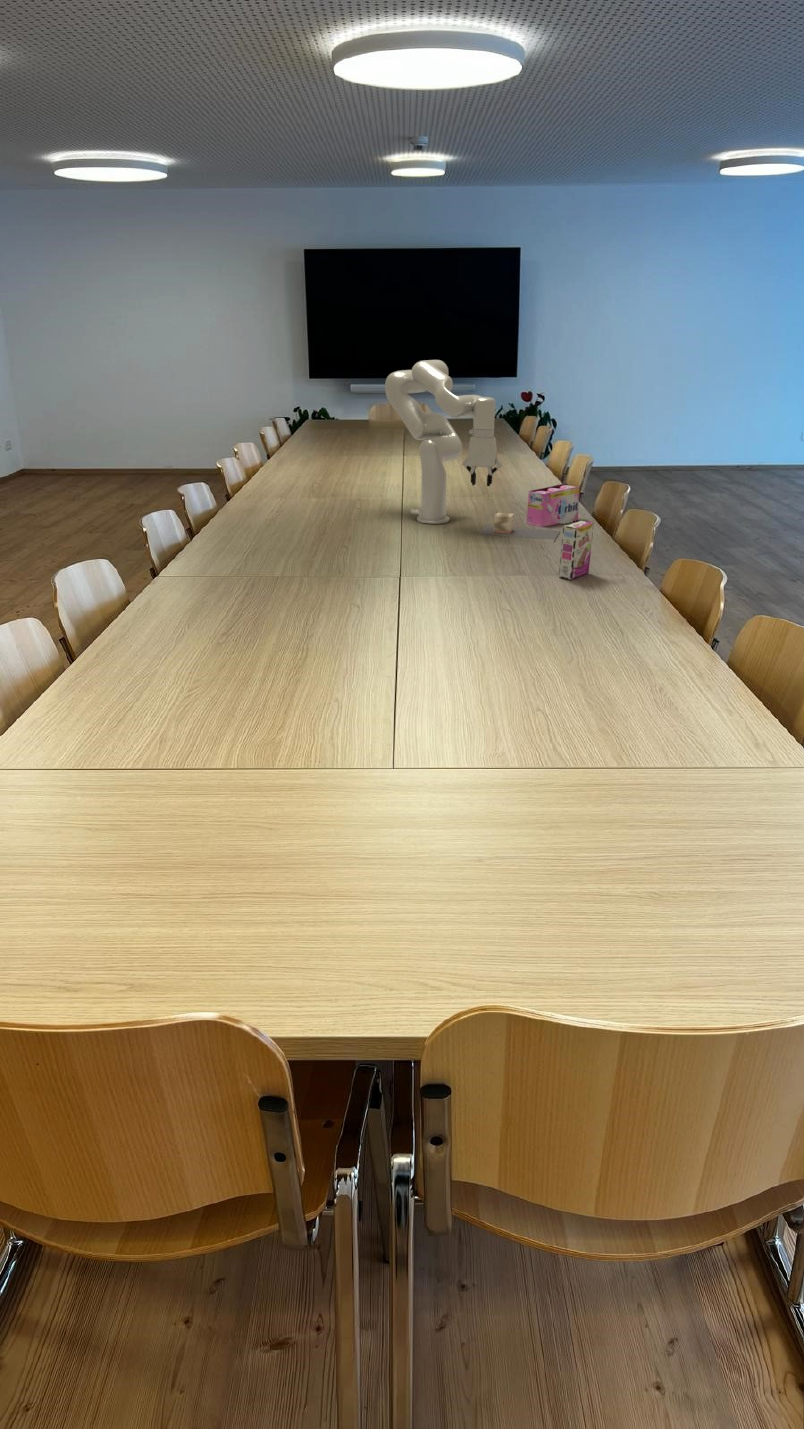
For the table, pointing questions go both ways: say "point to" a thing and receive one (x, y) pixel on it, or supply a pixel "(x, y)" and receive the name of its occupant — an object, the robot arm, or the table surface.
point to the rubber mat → (523, 533)
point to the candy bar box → (576, 550)
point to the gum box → (553, 505)
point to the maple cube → (503, 523)
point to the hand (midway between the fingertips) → (481, 484)
